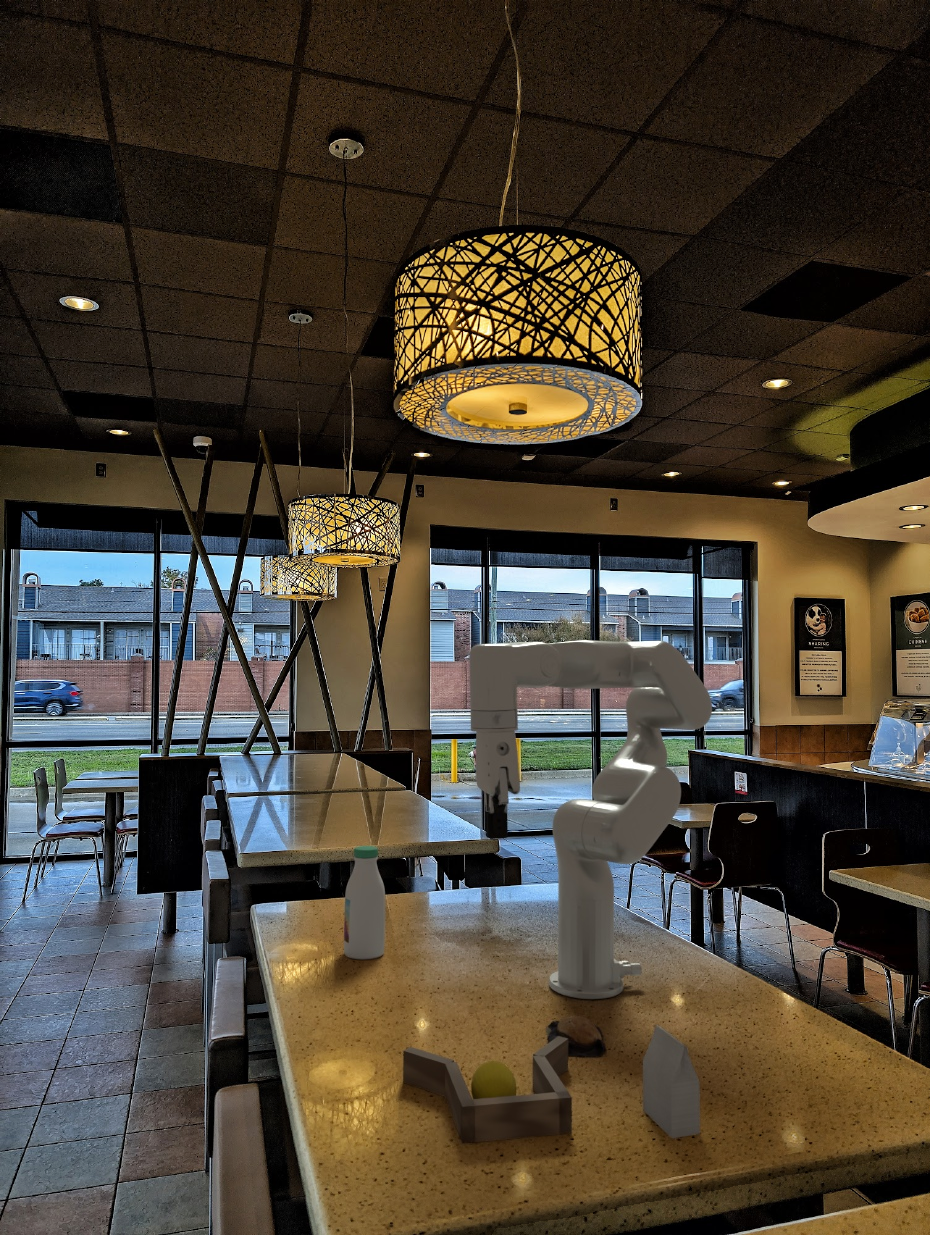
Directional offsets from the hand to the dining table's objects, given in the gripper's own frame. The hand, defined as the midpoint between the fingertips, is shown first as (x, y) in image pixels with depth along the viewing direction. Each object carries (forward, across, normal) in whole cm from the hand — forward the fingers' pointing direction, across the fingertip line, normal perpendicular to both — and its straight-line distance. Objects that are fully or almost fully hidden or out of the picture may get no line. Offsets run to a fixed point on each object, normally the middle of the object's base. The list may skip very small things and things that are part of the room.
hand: (496, 837), depth 137 cm
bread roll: (+28, -12, -8) cm, 32 cm away
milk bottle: (+28, +34, +18) cm, 47 cm away
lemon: (+24, -25, +8) cm, 36 cm away
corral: (+27, -27, +8) cm, 39 cm away
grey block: (+28, -36, -11) cm, 47 cm away
